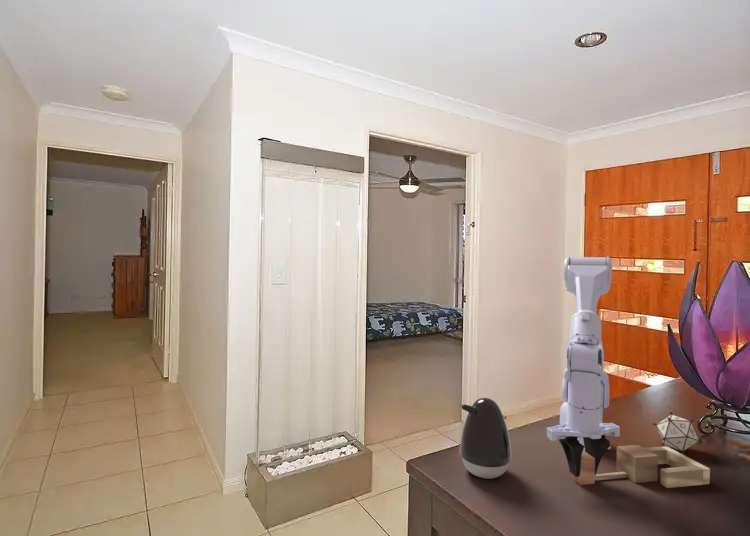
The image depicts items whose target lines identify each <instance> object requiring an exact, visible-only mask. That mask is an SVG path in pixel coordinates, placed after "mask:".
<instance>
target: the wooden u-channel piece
mask: <svg viewBox="0 0 750 536" xmlns="http://www.w3.org/2000/svg"><path fill="white" fill-rule="evenodd" d="M644 448H645V449H647V450H648V451H650V452H652V453H654V454H656V455H657V456H658V465H665V464H666V465H668V466H670V467H666V468H660V478H659V479H660V482H659V484H660V485H662V486H663V487H665V489H669V488H670V489H671V488H680V487H681V488H682V487H683V488H684V487H692V486H693V487H694V486H703V485H710V479H711V468H709V467H707V466H706V465H703V464H702V463H700V462H698V461H696V460H694V459H692V458H690V457H688V456H686V455H685V454H684V455H683V454H682V452H681V453H680V451H678V450H676V449H674V448H672V447H670V446H667V445H663V446H653V447H651V446H650V447H644Z"/></svg>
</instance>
